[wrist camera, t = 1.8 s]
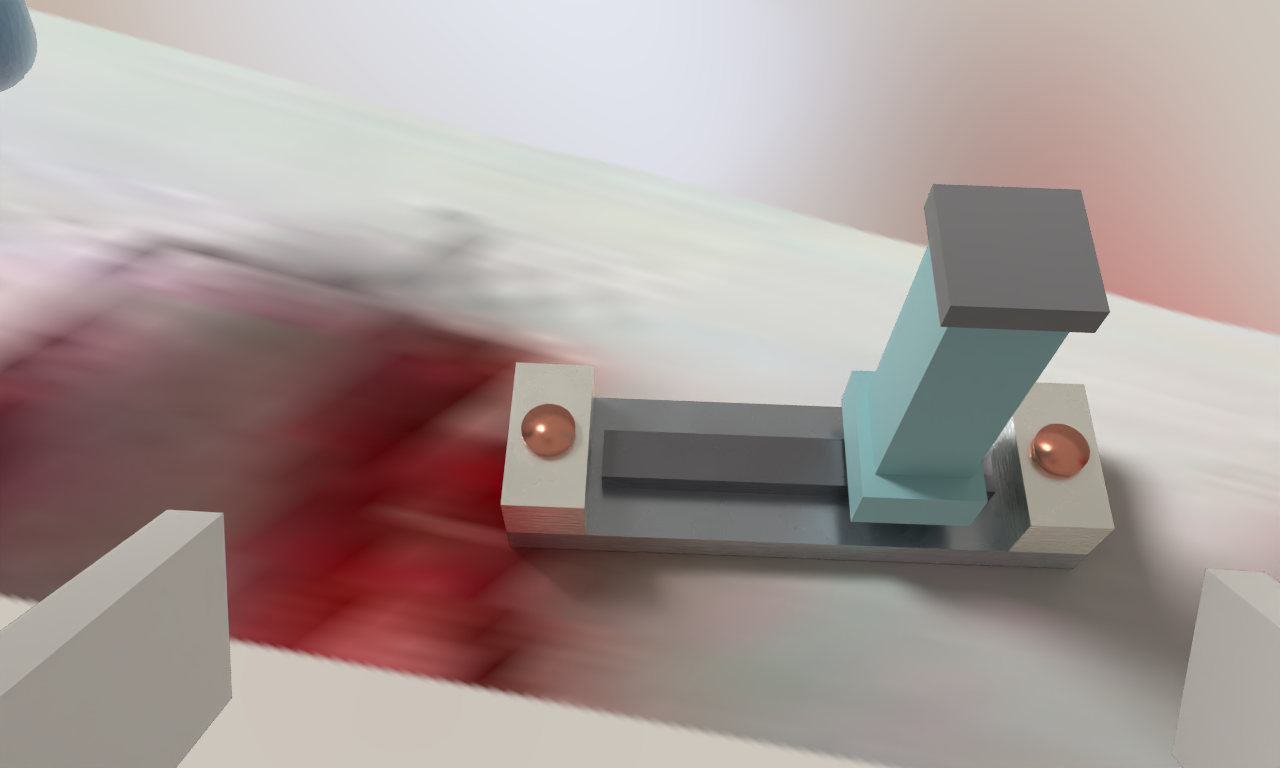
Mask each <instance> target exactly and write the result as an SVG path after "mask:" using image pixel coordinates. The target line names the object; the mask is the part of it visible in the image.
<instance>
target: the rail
mask: <svg viewBox="0 0 1280 768" xmlns="http://www.w3.org/2000/svg"><path fill="white" fill-rule="evenodd" d="M982 466H983V472H984V479H985V486H986V492H987V499H988V502H987V504H986V505H985V506H984V508H983V509H982V510H981V512H980V513H979V514H978V516H977V517H976V518H975V520H974V521H973V522H972V524H971V525H970V526H950V525H924V524H898V523H872V522H851V519H850V506H849V493H848V479H847V466H846V453H845V440H844V426H843V413H842V407H822V406H797V405H771V404H745V403H719V402H694V401H668V400H642V399H616V398H595V392H594V365H568V364H542V363H517V362H516V368H515V377H514V387H513V396H512V405H511V414H510V423H509V432H508V441H507V450H506V459H505V468H504V477H503V487H502V496H501V509H502V514H503V518H504V522H505V527H506V531H507V535H508V540H509V544H510V547H526V548H552V549H578V550H604V551H630V552H656V553H682V554H707V555H733V556H759V557H785V558H811V559H837V560H863V561H888V562H914V563H940V564H966V565H992V566H1018V567H1044V568H1070V569H1073V568H1074V567H1075V566H1076V565H1077V564H1078V563H1079V562H1080V561H1081V560H1082V559H1083V558H1084V557H1085V556H1087V555H1088V554H1089V553H1090V552H1091V551H1092V550H1093V549H1094V548H1095V547H1096V546H1097V545H1098V544H1099V543H1100V542H1101V541H1102V540H1103V539H1104V538H1106V537H1107V536H1108V535H1109V534H1110V533H1111V532H1112V531H1113V530H1114V529H1115V527H1114V523H1113V518H1112V513H1111V509H1110V504H1109V499H1108V494H1107V490H1106V485H1105V480H1104V476H1103V471H1102V466H1101V462H1100V457H1099V452H1098V448H1097V443H1096V438H1095V434H1094V429H1093V424H1092V420H1091V415H1090V410H1089V406H1088V401H1087V396H1086V392H1085V387H1084V385H1083V384H1057V383H1034V385H1033V386H1032V388H1031V389H1030V391H1029V392H1028V394H1027V395H1026V397H1025V398H1024V400H1023V401H1022V403H1021V404H1020V406H1019V407H1018V409H1017V410H1016V411H1015V413H1014V414H1013V416H1012V417H1011V419H1010V420H1009V422H1008V423H1007V425H1006V426H1005V428H1004V429H1003V431H1002V432H1001V434H1000V435H999V437H998V438H997V440H996V441H995V442H994V444H993V445H992V447H991V448H990V450H989V451H988V453H987V454H986V456H985V457H984V459H983V460H982Z"/></svg>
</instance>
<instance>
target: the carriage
mask: <svg viewBox="0 0 1280 768" xmlns="http://www.w3.org/2000/svg"><path fill="white" fill-rule="evenodd" d="M924 211H925V218H926V225H927V233H928V240H929V245H928V247H927V249H926V252H925V254H924V256H923V259H922V261H921V264H920V266H919V269H918V271H917V273H916V276H915V278H914V281H913V283H912V285H911V288H910V290H909V293H908V295H907V298H906V300H905V302H904V305H903V307H902V310H901V312H900V314H899V317H898V319H897V322H896V324H895V327H894V329H893V331H892V334H891V336H890V339H889V341H888V343H887V346H886V348H885V351H884V353H883V356H882V358H881V360H880V363H879V365H878V368H877V370H876V372H873V371H852V373H851V376H850V378H849V381H848V384H847V386H846V389H845V392H844V394H843V397H842V413H843V426H844V440H845V453H846V466H847V479H848V493H849V506H850V519H851V522H872V523H898V524H924V525H950V526H970V525H971V524H972V522H973V521H974V520H975V518H976V517H977V516H978V514H979V513H980V512H981V510H982V509H983V508H984V506H985V505H986V504H987V502H988V499H987V492H986V486H985V479H984V472H983V466H982V460H983V459H984V457H985V456H986V454H987V453H988V451H989V450H990V448H991V447H992V445H993V444H994V442H995V441H996V440H997V438H998V437H999V435H1000V434H1001V432H1002V431H1003V429H1004V428H1005V426H1006V425H1007V423H1008V422H1009V420H1010V419H1011V417H1012V416H1013V414H1014V413H1015V411H1016V410H1017V409H1018V407H1019V406H1020V404H1021V403H1022V401H1023V400H1024V398H1025V397H1026V395H1027V394H1028V392H1029V391H1030V389H1031V388H1032V386H1033V385H1034V383H1035V382H1036V381H1037V379H1038V378H1039V376H1040V375H1041V373H1042V372H1043V370H1044V369H1045V367H1046V366H1047V364H1048V363H1049V361H1050V360H1051V358H1052V357H1053V355H1054V354H1055V353H1056V351H1057V350H1058V348H1059V347H1060V345H1061V344H1062V342H1063V341H1064V339H1065V338H1066V336H1067V335H1068V333H1069V332H1085V333H1095V332H1096V331H1097V329H1098V328H1099V326H1100V325H1101V324H1102V322H1103V321H1104V319H1105V318H1106V317H1107V315H1108V314H1109V312H1110V310H1109V306H1108V302H1107V298H1106V294H1105V289H1104V285H1103V281H1102V277H1101V273H1100V269H1099V265H1098V260H1097V257H1096V252H1095V248H1094V243H1093V239H1092V235H1091V231H1090V227H1089V222H1088V218H1087V214H1086V210H1085V206H1084V202H1083V198H1082V193H1081V190H1068V189H1044V188H1018V187H992V186H967V185H941V184H940V185H939V184H933V185H932V188H931V190H930V193H929V196H928V198H927V201H926V204H925V206H924Z"/></svg>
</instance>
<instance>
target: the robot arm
mask: <svg viewBox="0 0 1280 768" xmlns="http://www.w3.org/2000/svg"><path fill="white" fill-rule="evenodd" d="M36 53H37V41H36V34H35V30H34V27H33V23H32V21H31V18H30V15H29V12H28V9H27V6H26V4H25V1H24V0H0V92H1V91H4V90H6V89H8V88H11V87H13V86H14V85H16V84H17V83H18V82H19V81H20V80H22V79H23V78H24V75H25V74H26V73H27V72H28V71H29V70H30V69H31V67H32V65H33V63H34V60H35V56H36ZM231 698H232V690H231V667H230V644H229V622H228V600H227V578H226V556H225V533H224V513H219V512H202V511H184V510H166V511H165V512H163V513H162V514H161V515H159V516H158V517H156V518H155V519H154V520H152V521H151V522H150V523H148V524H147V525H145V526H144V527H143V528H141V529H140V530H138V531H137V532H136V533H134V534H133V535H132V536H130V537H129V538H127V539H126V540H125V541H123V542H122V543H121V544H119V545H118V546H116V547H115V548H114V549H112V550H111V551H110V552H108V553H107V554H105V555H104V556H103V557H101V558H100V559H99V560H97V561H96V562H94V563H93V564H92V565H90V566H89V567H87V568H86V569H85V570H83V571H82V572H81V573H79V574H78V575H76V576H75V577H74V578H72V579H71V580H70V581H68V582H67V583H65V584H64V585H63V586H61V587H60V588H59V589H57V590H56V591H54V592H53V593H52V594H50V595H49V596H47V597H46V598H45V599H43V600H42V601H41V602H39V603H38V604H36V605H35V606H34V607H32V608H31V609H30V610H28V611H27V612H25V613H24V614H23V615H21V616H20V617H19V618H17V619H16V620H14V621H13V622H12V623H10V624H9V625H8V626H6V627H5V628H3V629H2V630H1V631H0V768H176V767H177V766H178V765H179V764H180V762H181V761H182V760H183V759H184V757H185V756H186V755H187V753H188V752H189V751H190V750H191V748H192V747H193V746H194V745H195V744H196V742H197V741H198V740H199V738H200V737H201V736H202V734H203V733H204V732H205V731H206V730H207V728H208V727H209V726H210V725H211V723H212V722H213V721H214V720H215V718H216V717H217V716H218V715H219V713H220V712H221V711H222V710H223V708H224V707H225V706H226V705H227V703H228V702H229V701H230V699H231ZM1172 755H1173V756H1174V758H1175V759H1176V760H1177V761H1178V763H1179V764H1180V765H1181V766H1182V767H1183V768H1280V583H1279V582H1278V581H1276V580H1275V579H1274V578H1272V577H1271V576H1269V575H1268V574H1267V573H1265V572H1261V571H1243V570H1225V569H1208V568H1206V570H1205V575H1204V581H1203V586H1202V592H1201V597H1200V603H1199V608H1198V614H1197V619H1196V624H1195V630H1194V635H1193V641H1192V646H1191V652H1190V657H1189V663H1188V668H1187V674H1186V679H1185V685H1184V690H1183V696H1182V701H1181V706H1180V712H1179V717H1178V723H1177V728H1176V734H1175V739H1174V745H1173V750H1172Z"/></svg>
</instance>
